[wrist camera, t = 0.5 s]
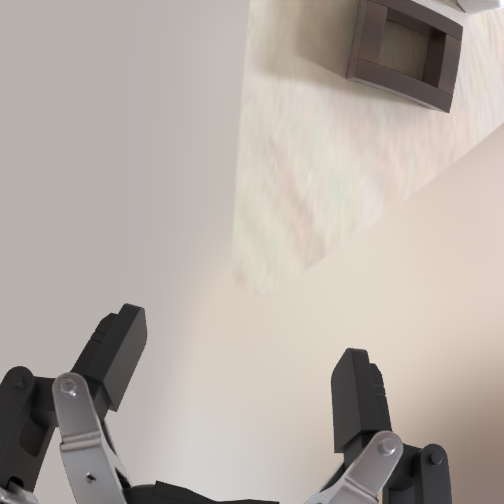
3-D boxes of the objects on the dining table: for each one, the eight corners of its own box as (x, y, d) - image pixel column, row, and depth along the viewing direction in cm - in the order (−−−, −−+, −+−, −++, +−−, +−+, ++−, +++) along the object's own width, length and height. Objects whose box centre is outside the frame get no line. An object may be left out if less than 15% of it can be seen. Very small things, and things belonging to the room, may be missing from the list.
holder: (360, -5, 22) (369, -16, 18) (445, 30, 22) (463, 26, 18) (345, 78, 28) (354, 77, 24) (432, 109, 28) (449, 113, 24)
